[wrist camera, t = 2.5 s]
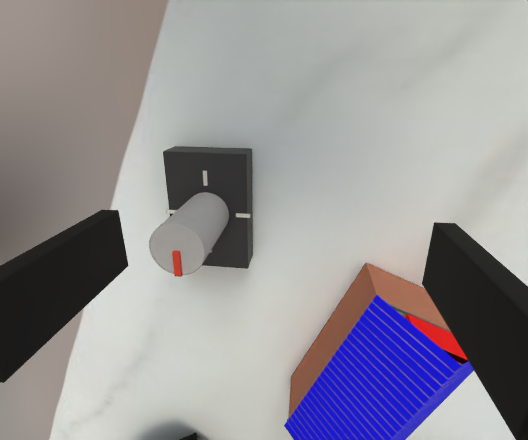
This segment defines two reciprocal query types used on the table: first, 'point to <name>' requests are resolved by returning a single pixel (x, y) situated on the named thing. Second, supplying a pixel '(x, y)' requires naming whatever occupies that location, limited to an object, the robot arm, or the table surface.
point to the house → (375, 364)
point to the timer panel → (221, 184)
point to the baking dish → (191, 437)
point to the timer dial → (189, 234)
